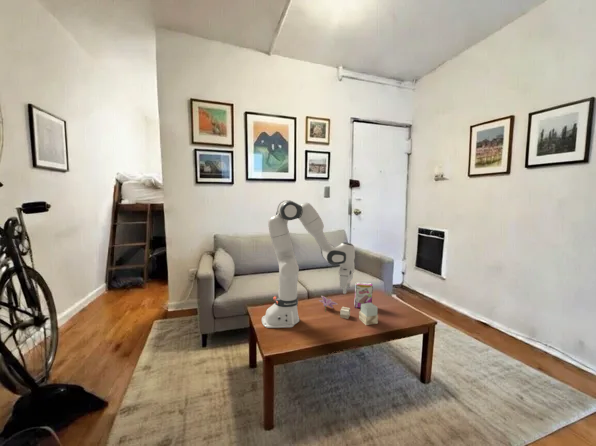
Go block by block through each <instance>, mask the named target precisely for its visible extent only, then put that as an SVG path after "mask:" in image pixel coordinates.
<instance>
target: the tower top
mask: <svg viewBox="0 0 596 446" xmlns="http://www.w3.org/2000/svg"><path fill="white" fill-rule="evenodd" d="M360 311H361V312H362V313H363V314H364V315H365V316H367V317H369V316H376V315H378V306H377V305H376V304H373V302H372V303H364V304H361V308H360Z"/></svg>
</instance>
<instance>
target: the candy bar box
mask: <svg viewBox="0 0 596 446" xmlns="http://www.w3.org/2000/svg"><path fill="white" fill-rule="evenodd" d="M354 284H355V285H354V286H355V287H354V302H353V304H354V308H355V309H357V308H358V309H361V304H364V303H372V304H373V289H374V285H373V283H371V282H362V281H361V282H357V281H356V282H355V283H354Z"/></svg>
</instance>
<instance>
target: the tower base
mask: <svg viewBox="0 0 596 446" xmlns="http://www.w3.org/2000/svg"><path fill="white" fill-rule="evenodd" d="M358 319H359V321H361V322H362V323H363V324H364V325H365V326H369V325H376V324H379V315H378V314H377V315H376V316H369V317H367V316H365V315H364V314H363V313H362V312H361V310H360V311H358Z"/></svg>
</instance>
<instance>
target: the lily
mask: <svg viewBox="0 0 596 446" xmlns="http://www.w3.org/2000/svg"><path fill="white" fill-rule="evenodd" d="M320 296H321V299H322V300H321V299H320V300H319V299H318V302H320V303H323V307H325V308H324V309H325V310H324V312H325V313H326V309H327V307H330V308H331V309H334V306H335V305H338V303H337V302H336V301H333V300H332V298H327V297H325V296H324V295H320ZM333 305H334V306H333Z"/></svg>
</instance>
